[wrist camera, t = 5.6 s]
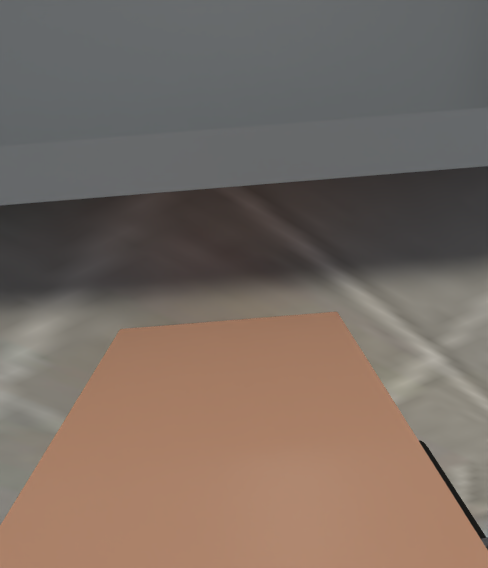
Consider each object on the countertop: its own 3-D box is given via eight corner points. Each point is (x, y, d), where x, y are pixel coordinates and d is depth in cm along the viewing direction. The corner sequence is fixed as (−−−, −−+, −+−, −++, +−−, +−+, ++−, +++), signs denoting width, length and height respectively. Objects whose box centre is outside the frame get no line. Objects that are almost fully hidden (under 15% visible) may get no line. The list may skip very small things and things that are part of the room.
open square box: (336, 311, 11) (565, 674, 3) (336, 481, 13) (482, 947, 5) (120, 329, 11) (-126, 730, 3) (152, 495, 13) (41, 986, 5)
